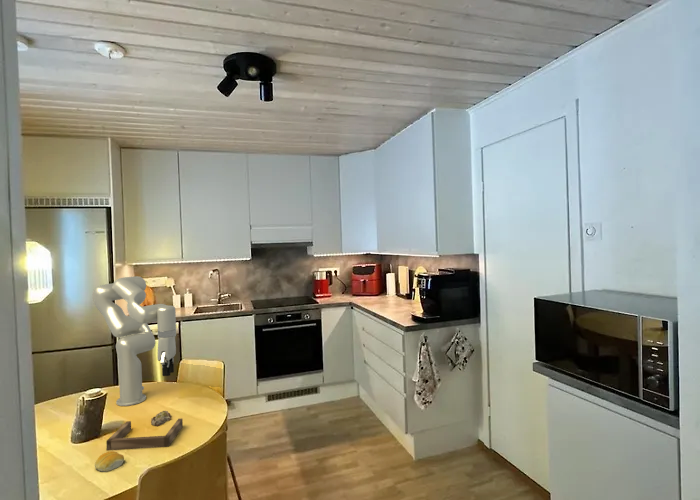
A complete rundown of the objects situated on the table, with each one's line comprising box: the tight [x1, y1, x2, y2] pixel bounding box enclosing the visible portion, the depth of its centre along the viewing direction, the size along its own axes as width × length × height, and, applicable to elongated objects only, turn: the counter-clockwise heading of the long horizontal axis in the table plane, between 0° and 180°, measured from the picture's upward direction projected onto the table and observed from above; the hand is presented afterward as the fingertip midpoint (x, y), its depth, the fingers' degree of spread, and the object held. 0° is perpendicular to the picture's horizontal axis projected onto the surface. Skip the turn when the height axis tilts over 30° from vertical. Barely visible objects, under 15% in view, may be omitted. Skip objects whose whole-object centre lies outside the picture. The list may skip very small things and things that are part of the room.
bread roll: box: [94, 450, 125, 472], centre depth 137 cm, size 8×9×4 cm
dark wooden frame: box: [105, 417, 184, 451], centre depth 156 cm, size 16×22×4 cm
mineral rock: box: [150, 410, 172, 427], centre depth 171 cm, size 11×4×8 cm
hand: (168, 373), depth 179 cm, fingers open, 3 cm apart
